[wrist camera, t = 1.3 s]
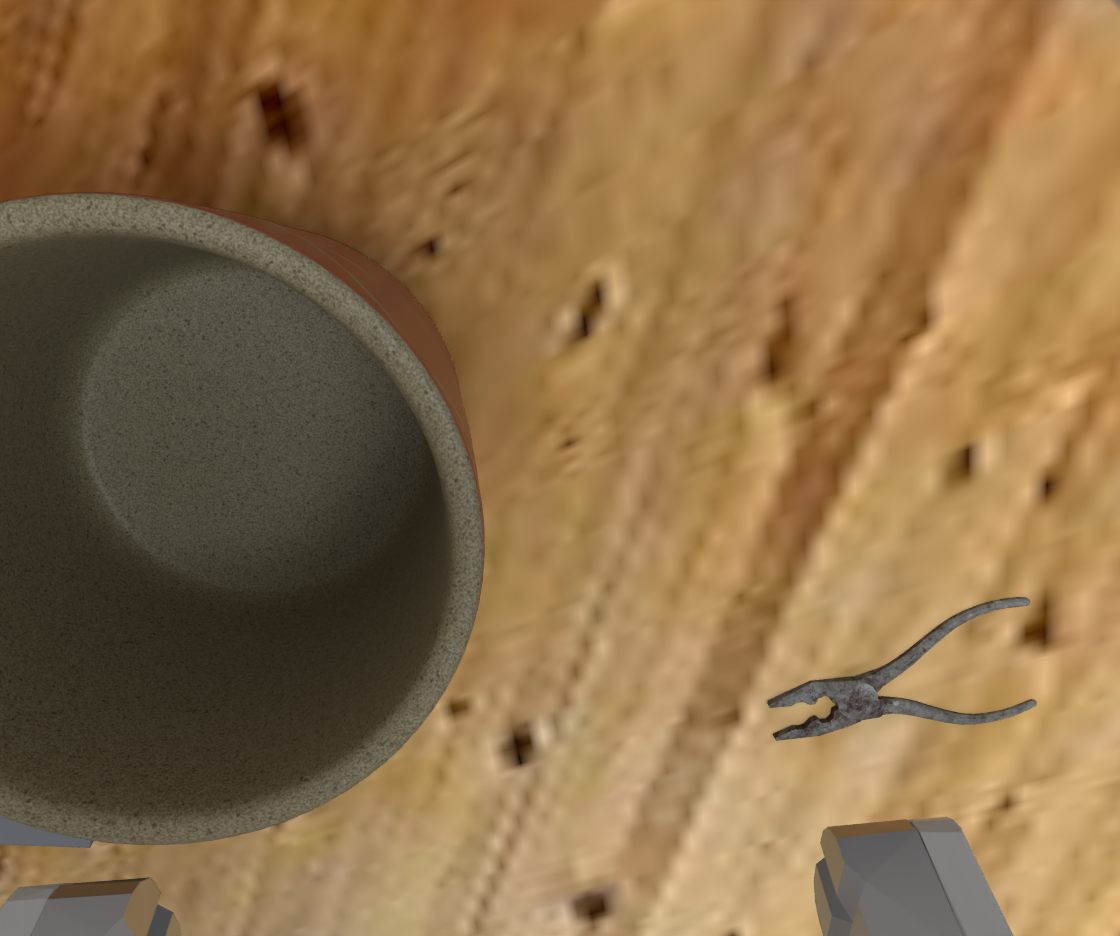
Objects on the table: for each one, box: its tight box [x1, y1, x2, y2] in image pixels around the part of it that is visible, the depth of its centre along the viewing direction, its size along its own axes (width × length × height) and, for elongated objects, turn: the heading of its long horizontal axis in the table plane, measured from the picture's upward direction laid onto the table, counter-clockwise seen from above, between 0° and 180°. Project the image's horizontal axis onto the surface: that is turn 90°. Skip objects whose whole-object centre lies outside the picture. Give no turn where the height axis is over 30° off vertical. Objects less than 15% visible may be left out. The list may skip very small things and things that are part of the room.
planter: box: [0, 192, 485, 845], centre depth 39 cm, size 23×23×24 cm
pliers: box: [768, 597, 1037, 741], centre depth 60 cm, size 10×1×20 cm
